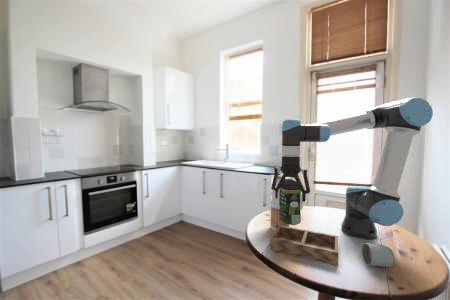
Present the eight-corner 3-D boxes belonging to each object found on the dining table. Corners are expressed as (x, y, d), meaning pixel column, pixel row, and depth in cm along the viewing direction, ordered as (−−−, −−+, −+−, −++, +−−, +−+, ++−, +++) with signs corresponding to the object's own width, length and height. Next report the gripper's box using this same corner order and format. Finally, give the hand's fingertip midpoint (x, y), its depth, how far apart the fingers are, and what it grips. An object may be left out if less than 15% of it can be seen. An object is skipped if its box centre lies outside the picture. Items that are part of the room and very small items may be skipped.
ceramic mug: (396, 271, 76) (396, 250, 76) (371, 270, 77) (371, 248, 77) (378, 255, 87) (378, 237, 87) (356, 254, 88) (357, 236, 88)
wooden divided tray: (337, 247, 93) (338, 235, 93) (338, 265, 80) (338, 252, 80) (278, 235, 105) (278, 225, 105) (269, 249, 92) (270, 238, 91)
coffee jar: (277, 217, 99) (277, 177, 98) (293, 217, 100) (294, 177, 99) (285, 226, 90) (285, 182, 89) (303, 225, 90) (304, 181, 89)
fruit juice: (267, 230, 111) (267, 176, 110) (274, 224, 119) (275, 173, 117) (285, 234, 106) (285, 178, 104) (291, 228, 113) (292, 175, 112)
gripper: (318, 156, 92) (317, 208, 93) (268, 154, 101) (268, 201, 103) (317, 157, 85) (315, 213, 86) (263, 155, 95) (263, 206, 96)
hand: (289, 207), depth 94 cm, fingers closed on coffee jar, 9 cm apart
